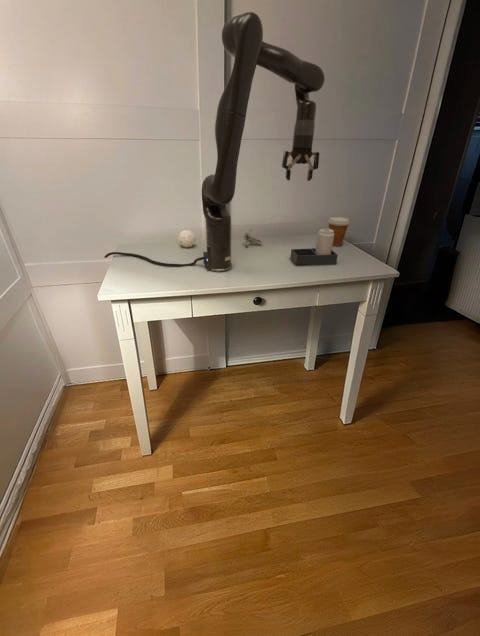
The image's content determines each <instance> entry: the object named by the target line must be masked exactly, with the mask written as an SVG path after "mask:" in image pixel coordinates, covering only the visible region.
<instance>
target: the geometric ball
mask: <svg viewBox="0 0 480 636" xmlns="http://www.w3.org/2000/svg"><path fill="white" fill-rule="evenodd" d="M177 239H178V243H179V244H180V245H181V246H182V247H184V248H191V247H193V246H194V245H195V243H196V240H197V239H196V236H195V233H194V232H193V231H191V230H190V229H183V230H181V232H180V233H179V234H178V238H177Z"/></svg>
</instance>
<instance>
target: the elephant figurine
mask: <svg viewBox="0 0 480 636" xmlns="http://www.w3.org/2000/svg"><path fill="white" fill-rule="evenodd" d="M251 232H252V228H251V229H249V233H248V232H247V231H245V232H244V235H243V240H245V243H246V244H245V248H247V247H248V245H249V243H250V244H256V245H258V246H262V244H263V243H262V242H263V240H262V239H259V238H257V237H254V236H253V235H252V236H251Z"/></svg>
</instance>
